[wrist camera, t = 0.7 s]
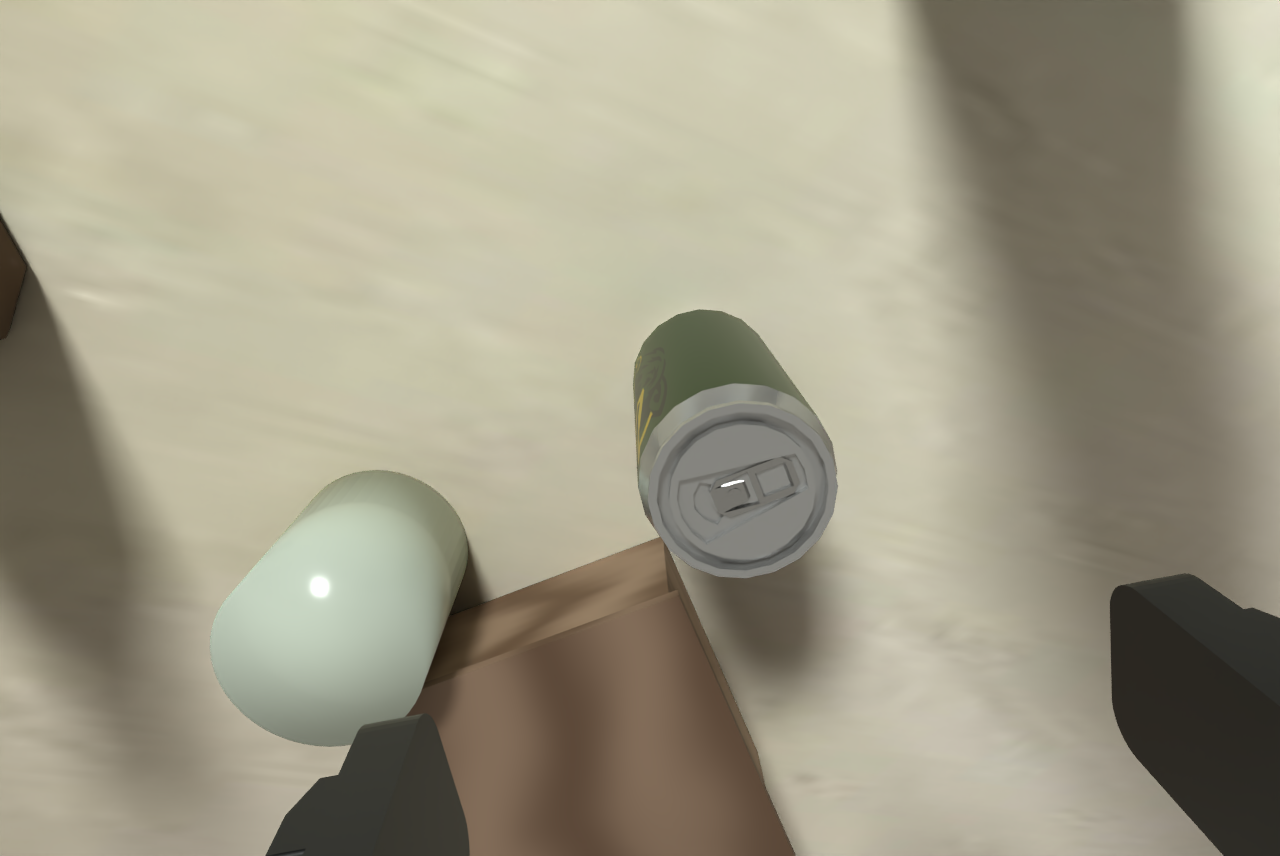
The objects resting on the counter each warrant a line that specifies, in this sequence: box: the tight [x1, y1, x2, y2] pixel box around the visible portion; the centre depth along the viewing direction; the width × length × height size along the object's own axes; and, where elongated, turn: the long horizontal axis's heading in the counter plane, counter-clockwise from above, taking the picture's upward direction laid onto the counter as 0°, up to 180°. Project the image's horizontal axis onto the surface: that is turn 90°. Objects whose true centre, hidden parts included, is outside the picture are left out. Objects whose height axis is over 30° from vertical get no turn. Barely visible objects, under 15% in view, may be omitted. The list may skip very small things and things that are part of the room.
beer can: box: [633, 310, 838, 578], centre depth 27 cm, size 5×5×12 cm
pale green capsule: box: [210, 470, 468, 747], centre depth 31 cm, size 7×7×8 cm
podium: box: [405, 537, 795, 856], centre depth 35 cm, size 13×13×6 cm
